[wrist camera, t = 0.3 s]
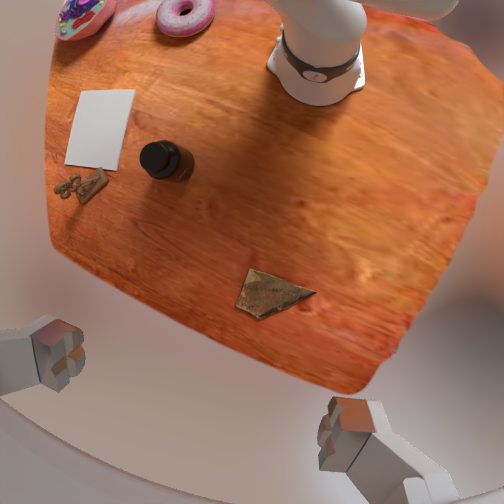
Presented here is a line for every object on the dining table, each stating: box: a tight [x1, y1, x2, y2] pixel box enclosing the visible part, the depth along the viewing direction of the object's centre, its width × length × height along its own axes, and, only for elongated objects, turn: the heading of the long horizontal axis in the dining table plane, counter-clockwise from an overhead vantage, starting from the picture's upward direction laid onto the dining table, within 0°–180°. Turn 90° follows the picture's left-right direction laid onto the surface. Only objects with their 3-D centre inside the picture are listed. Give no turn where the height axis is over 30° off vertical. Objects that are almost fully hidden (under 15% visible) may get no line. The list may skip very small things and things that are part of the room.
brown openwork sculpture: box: [54, 167, 109, 204], centre depth 53 cm, size 9×4×12 cm, turn 121°
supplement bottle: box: [140, 140, 195, 182], centre depth 50 cm, size 7×7×12 cm
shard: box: [236, 268, 316, 320], centre depth 57 cm, size 13×9×2 cm
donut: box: [156, 0, 216, 37], centre depth 47 cm, size 14×13×5 cm
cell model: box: [55, 0, 117, 41], centre depth 46 cm, size 17×20×11 cm
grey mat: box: [65, 89, 136, 171], centre depth 56 cm, size 18×16×1 cm
